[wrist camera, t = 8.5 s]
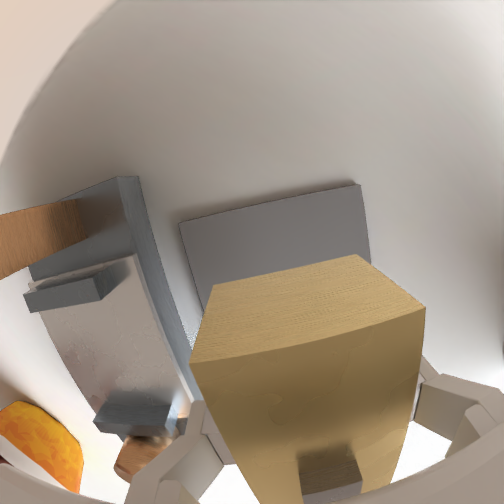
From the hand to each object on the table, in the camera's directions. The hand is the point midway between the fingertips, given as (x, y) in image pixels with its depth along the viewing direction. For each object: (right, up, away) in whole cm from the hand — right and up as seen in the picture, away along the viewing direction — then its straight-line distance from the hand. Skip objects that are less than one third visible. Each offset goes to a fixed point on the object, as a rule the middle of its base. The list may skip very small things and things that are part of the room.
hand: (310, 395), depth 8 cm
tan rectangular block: (0, 0, +1) cm, 1 cm away
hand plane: (-11, -1, +11) cm, 15 cm away
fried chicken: (-28, -19, +16) cm, 38 cm away
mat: (0, +2, +10) cm, 10 cm away
